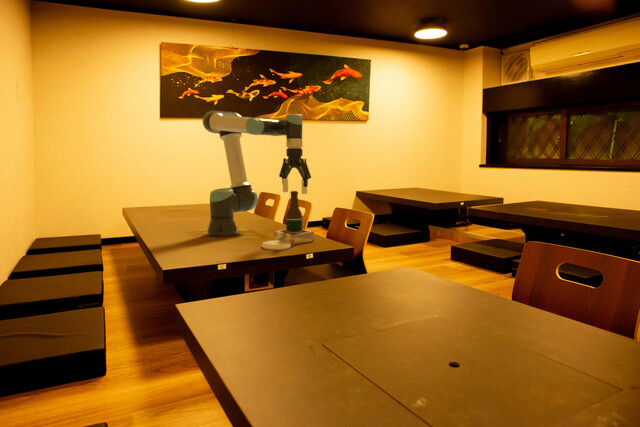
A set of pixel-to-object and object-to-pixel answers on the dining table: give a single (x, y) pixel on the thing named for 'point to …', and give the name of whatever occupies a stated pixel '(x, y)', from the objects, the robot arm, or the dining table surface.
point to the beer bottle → (294, 216)
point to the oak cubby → (294, 236)
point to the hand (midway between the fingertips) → (294, 193)
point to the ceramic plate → (276, 245)
